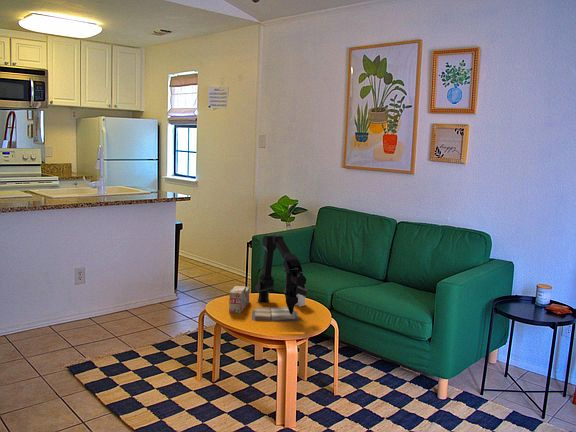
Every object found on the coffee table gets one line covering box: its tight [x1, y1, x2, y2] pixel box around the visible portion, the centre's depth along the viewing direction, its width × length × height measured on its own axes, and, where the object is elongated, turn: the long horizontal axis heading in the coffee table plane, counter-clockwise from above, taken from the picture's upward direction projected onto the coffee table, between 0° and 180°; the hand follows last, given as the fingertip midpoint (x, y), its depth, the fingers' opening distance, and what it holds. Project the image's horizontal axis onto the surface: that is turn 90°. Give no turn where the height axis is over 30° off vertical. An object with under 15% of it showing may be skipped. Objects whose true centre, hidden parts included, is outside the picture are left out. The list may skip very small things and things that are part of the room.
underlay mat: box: [251, 309, 300, 323], centre depth 285 cm, size 16×24×1 cm, turn 93°
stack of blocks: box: [228, 285, 250, 314], centre depth 297 cm, size 21×6×12 cm, turn 172°
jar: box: [295, 294, 306, 308], centre depth 308 cm, size 9×8×12 cm
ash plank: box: [270, 306, 296, 320], centre depth 285 cm, size 14×12×2 cm
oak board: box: [254, 306, 271, 320], centre depth 285 cm, size 14×8×2 cm, turn 3°
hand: (290, 311), depth 285 cm, fingers open, 9 cm apart
